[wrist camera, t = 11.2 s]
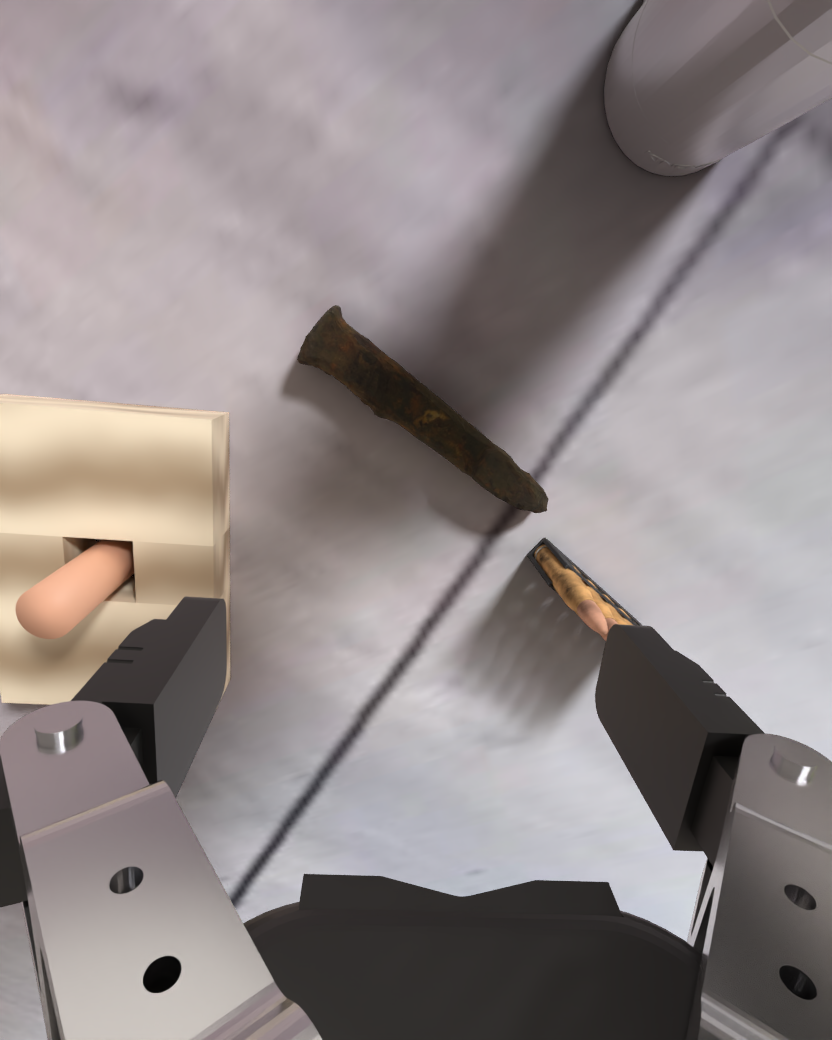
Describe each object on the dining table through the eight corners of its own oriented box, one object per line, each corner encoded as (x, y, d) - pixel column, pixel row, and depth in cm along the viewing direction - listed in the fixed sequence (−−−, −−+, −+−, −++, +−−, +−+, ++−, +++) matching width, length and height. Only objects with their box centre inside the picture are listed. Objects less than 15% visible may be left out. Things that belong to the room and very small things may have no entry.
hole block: (4, 394, 36) (-40, 399, 32) (229, 412, 37) (211, 420, 34) (36, 670, 42) (1, 702, 38) (230, 679, 43) (215, 711, 39)
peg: (102, 527, 39) (12, 586, 30) (147, 530, 39) (72, 589, 30) (106, 568, 40) (18, 637, 30) (150, 570, 40) (77, 640, 31)
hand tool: (297, 354, 37) (286, 356, 32) (336, 303, 36) (329, 298, 32) (510, 529, 41) (526, 551, 37) (549, 487, 40) (569, 505, 36)
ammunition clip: (640, 623, 44) (732, 722, 32) (622, 639, 44) (706, 743, 33) (544, 536, 41) (606, 610, 30) (526, 554, 41) (580, 634, 30)
